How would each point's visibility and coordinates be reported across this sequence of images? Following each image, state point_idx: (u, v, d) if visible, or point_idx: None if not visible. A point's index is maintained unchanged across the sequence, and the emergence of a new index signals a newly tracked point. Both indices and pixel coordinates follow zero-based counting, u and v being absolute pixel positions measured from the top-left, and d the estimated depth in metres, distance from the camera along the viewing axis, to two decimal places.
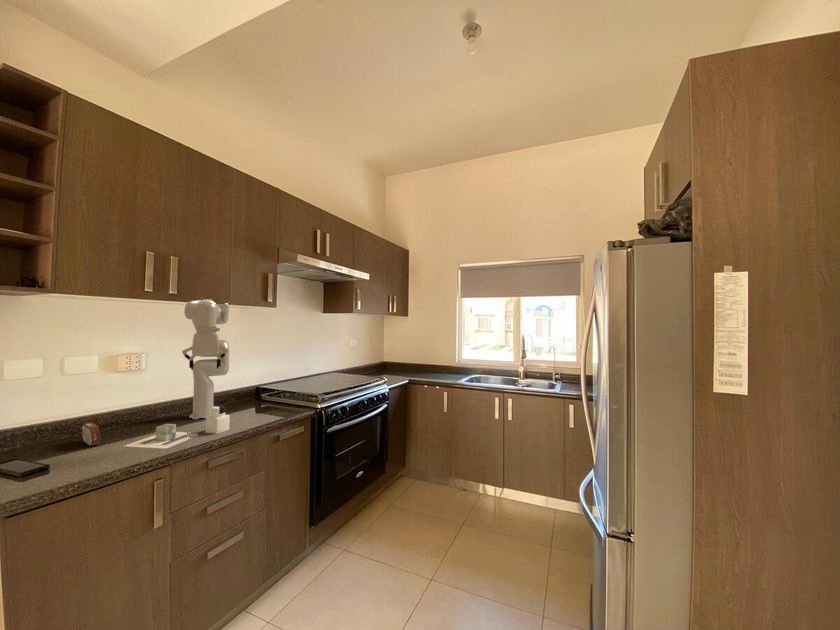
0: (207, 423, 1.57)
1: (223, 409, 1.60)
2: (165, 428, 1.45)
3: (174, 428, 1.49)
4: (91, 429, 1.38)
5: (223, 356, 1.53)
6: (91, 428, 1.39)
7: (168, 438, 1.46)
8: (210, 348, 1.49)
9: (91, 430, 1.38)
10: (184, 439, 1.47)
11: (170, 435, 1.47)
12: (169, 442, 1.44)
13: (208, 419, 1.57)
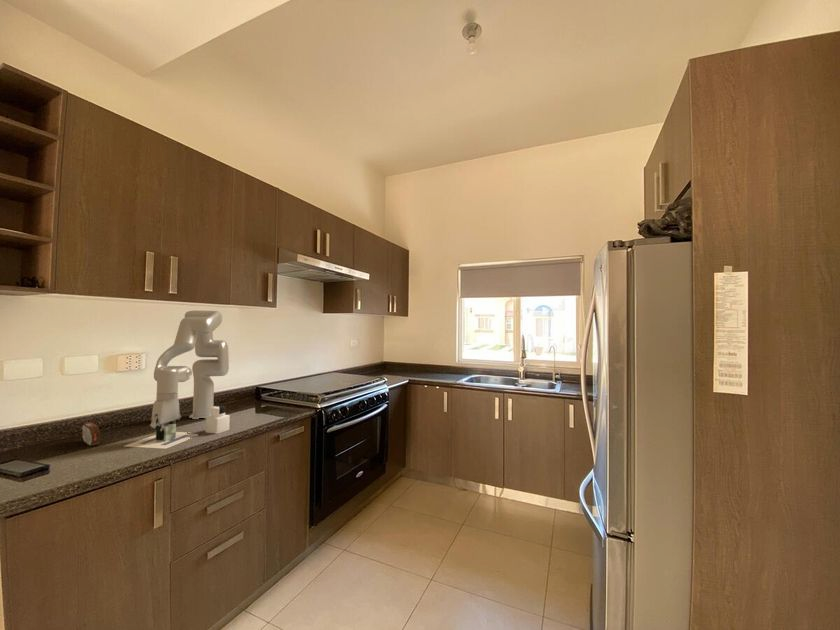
0: (207, 423, 1.57)
1: (223, 409, 1.60)
2: (165, 428, 1.45)
3: (174, 428, 1.49)
4: (91, 429, 1.38)
5: None
6: (91, 428, 1.39)
7: (168, 438, 1.46)
8: (174, 413, 1.49)
9: (91, 430, 1.38)
10: (184, 439, 1.47)
11: (170, 435, 1.47)
12: (169, 442, 1.44)
13: (208, 419, 1.57)
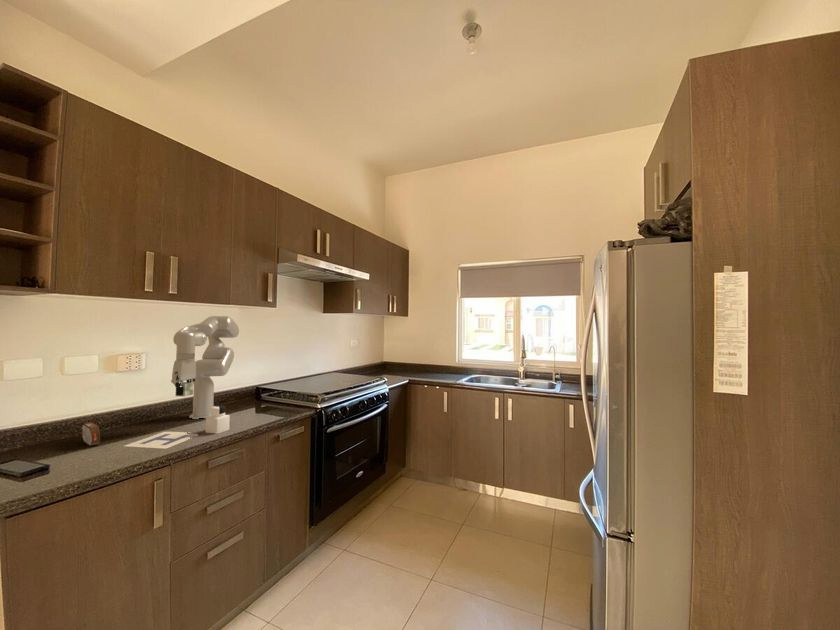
0: (207, 423, 1.57)
1: (223, 409, 1.60)
2: (184, 385, 1.62)
3: (192, 386, 1.66)
4: (91, 429, 1.38)
5: (194, 381, 1.70)
6: (91, 428, 1.39)
7: (187, 394, 1.63)
8: (192, 372, 1.67)
9: (91, 430, 1.38)
10: (184, 439, 1.47)
11: (188, 391, 1.64)
12: (169, 442, 1.44)
13: (208, 419, 1.57)
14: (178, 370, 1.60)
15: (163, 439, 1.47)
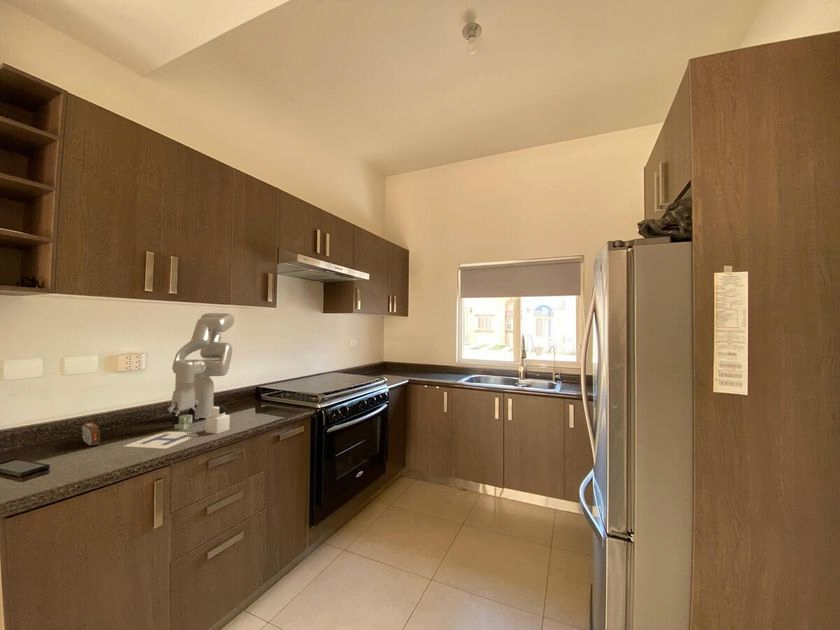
0: (207, 423, 1.57)
1: (223, 409, 1.60)
2: (183, 418, 1.62)
3: (191, 418, 1.66)
4: (91, 429, 1.38)
5: (196, 407, 1.71)
6: (91, 428, 1.39)
7: (186, 427, 1.63)
8: (191, 402, 1.66)
9: (91, 430, 1.38)
10: (184, 439, 1.47)
11: (187, 424, 1.64)
12: (169, 442, 1.44)
13: (208, 419, 1.57)
14: (177, 400, 1.60)
15: (163, 439, 1.47)
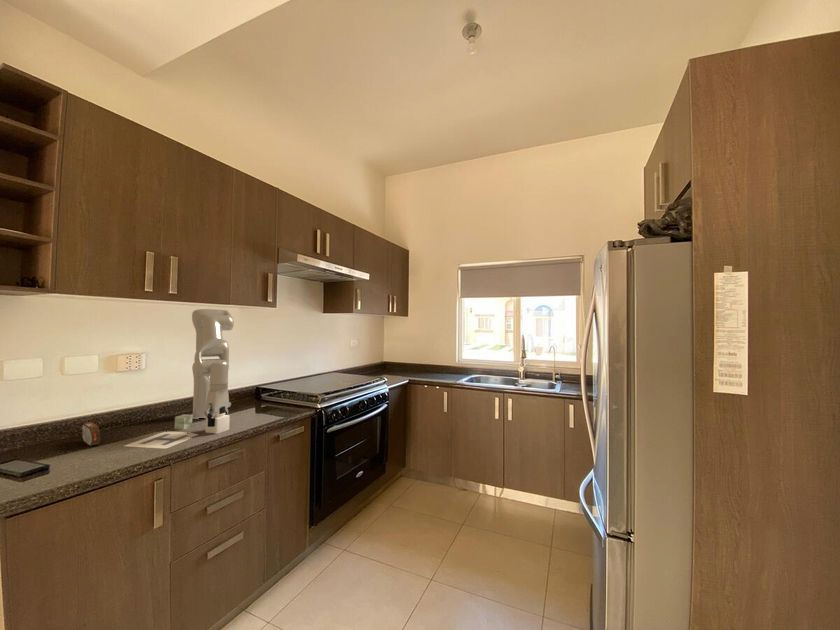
0: (207, 423, 1.57)
1: (223, 409, 1.60)
2: (183, 418, 1.62)
3: (191, 418, 1.66)
4: (91, 429, 1.38)
5: (228, 409, 1.66)
6: (91, 428, 1.39)
7: (186, 427, 1.63)
8: (225, 403, 1.62)
9: (91, 430, 1.38)
10: (184, 439, 1.47)
11: (187, 424, 1.64)
12: (169, 442, 1.44)
13: None
14: (212, 401, 1.55)
15: (163, 439, 1.47)
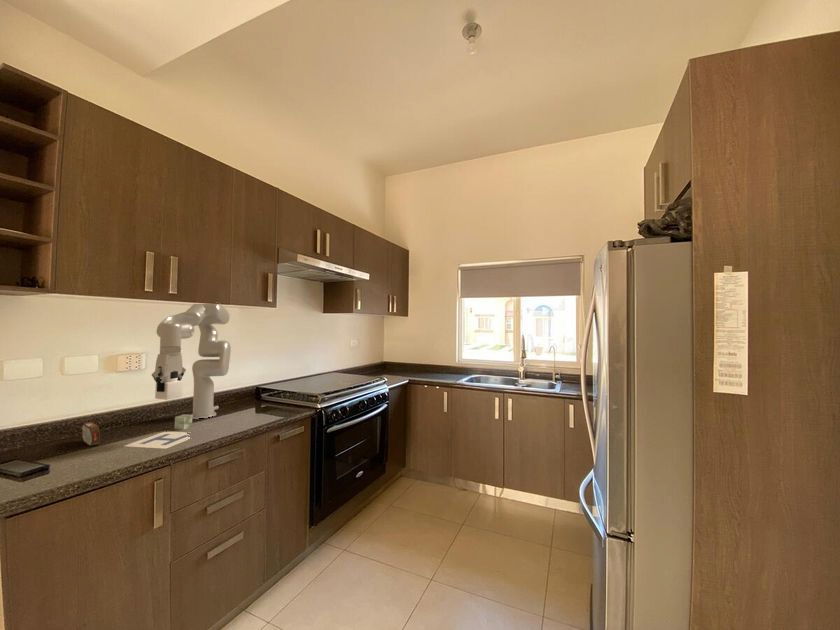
0: None
1: (175, 374, 1.49)
2: (183, 418, 1.62)
3: (191, 418, 1.66)
4: (91, 429, 1.38)
5: (182, 375, 1.55)
6: (91, 428, 1.39)
7: (186, 427, 1.63)
8: (177, 367, 1.51)
9: (91, 430, 1.38)
10: (184, 439, 1.47)
11: (187, 424, 1.64)
12: (169, 442, 1.44)
13: None
14: (162, 365, 1.44)
15: (163, 439, 1.47)
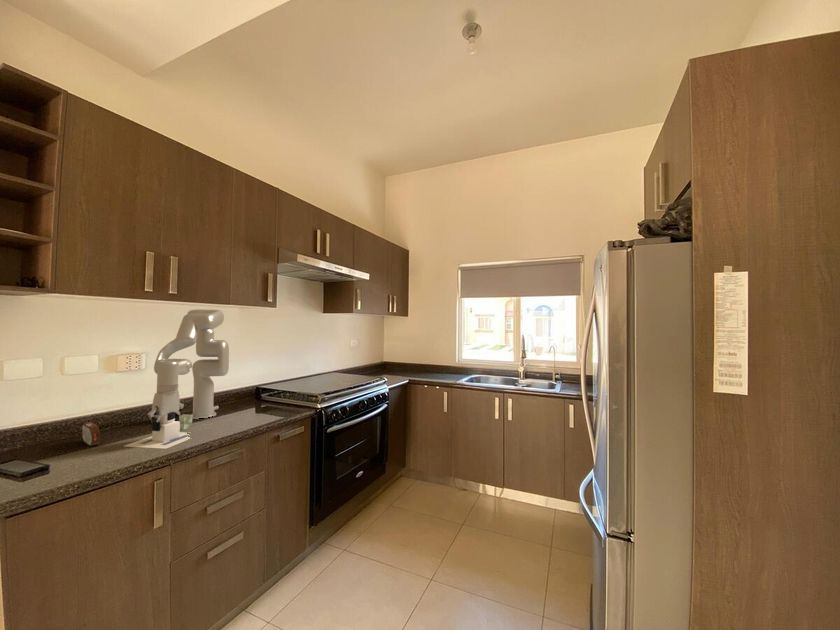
0: None
1: (172, 415, 1.48)
2: (183, 418, 1.62)
3: (191, 418, 1.66)
4: (91, 429, 1.38)
5: None
6: (91, 428, 1.39)
7: (186, 427, 1.63)
8: (174, 405, 1.50)
9: (91, 430, 1.38)
10: (184, 439, 1.47)
11: (187, 424, 1.64)
12: (169, 442, 1.44)
13: None
14: (158, 404, 1.43)
15: None
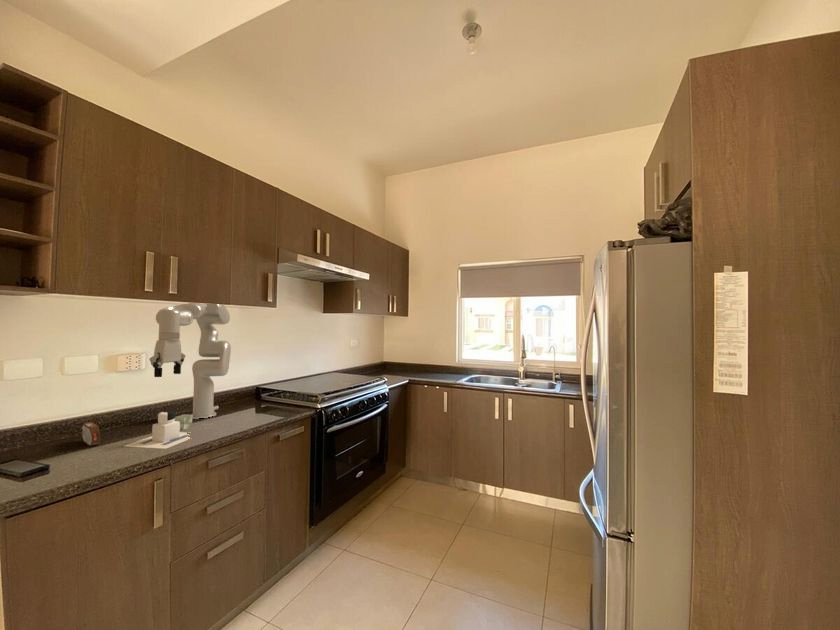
0: (154, 430, 1.45)
1: (172, 415, 1.48)
2: (183, 418, 1.62)
3: (191, 418, 1.66)
4: (91, 429, 1.38)
5: (182, 361, 1.56)
6: (91, 428, 1.39)
7: (186, 427, 1.63)
8: (176, 354, 1.50)
9: (91, 430, 1.38)
10: (184, 439, 1.47)
11: (187, 424, 1.64)
12: (169, 442, 1.44)
13: (155, 426, 1.45)
14: (160, 351, 1.44)
15: None
